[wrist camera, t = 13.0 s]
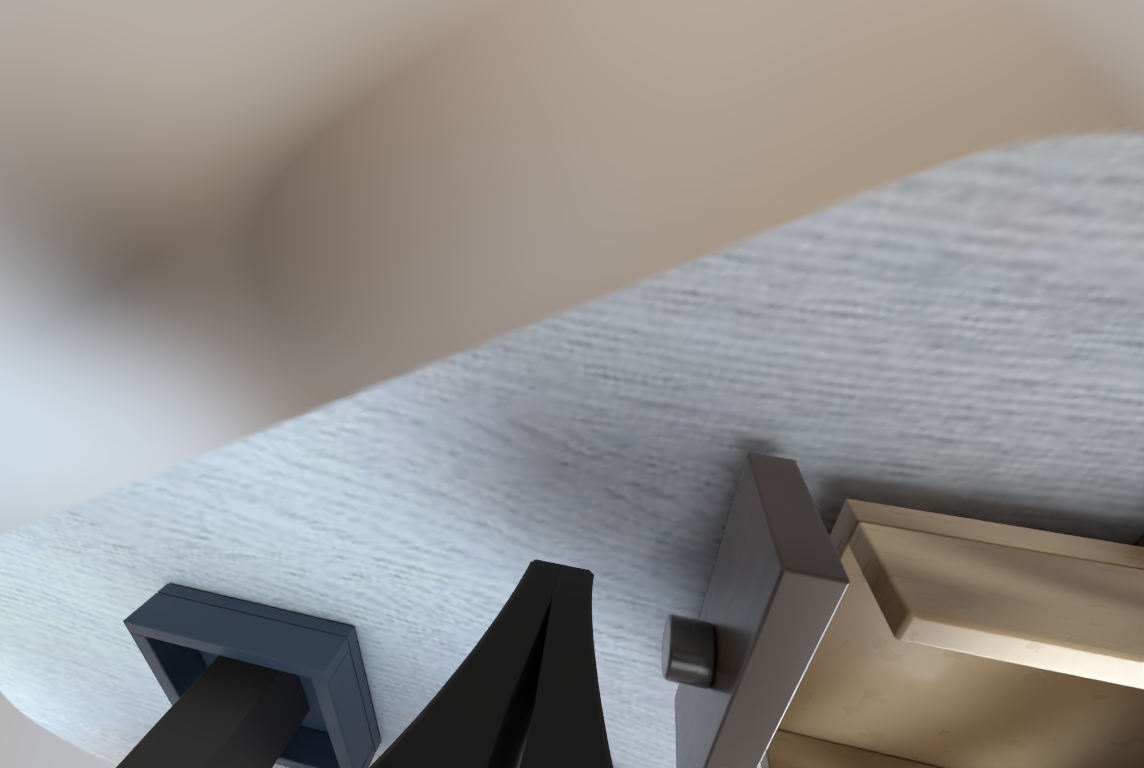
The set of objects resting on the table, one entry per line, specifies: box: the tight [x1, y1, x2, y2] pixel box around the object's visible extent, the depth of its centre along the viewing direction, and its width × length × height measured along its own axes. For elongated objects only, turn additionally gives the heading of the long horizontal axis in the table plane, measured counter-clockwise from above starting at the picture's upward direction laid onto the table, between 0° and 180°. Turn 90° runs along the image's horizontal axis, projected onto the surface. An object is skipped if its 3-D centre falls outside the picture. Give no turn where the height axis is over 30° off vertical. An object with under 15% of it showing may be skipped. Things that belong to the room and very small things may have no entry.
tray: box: [123, 584, 381, 768], centre depth 22 cm, size 10×10×2 cm
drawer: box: [662, 453, 1144, 768], centre depth 11 cm, size 15×11×4 cm
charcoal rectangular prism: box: [116, 655, 310, 768], centre depth 19 cm, size 4×3×6 cm
